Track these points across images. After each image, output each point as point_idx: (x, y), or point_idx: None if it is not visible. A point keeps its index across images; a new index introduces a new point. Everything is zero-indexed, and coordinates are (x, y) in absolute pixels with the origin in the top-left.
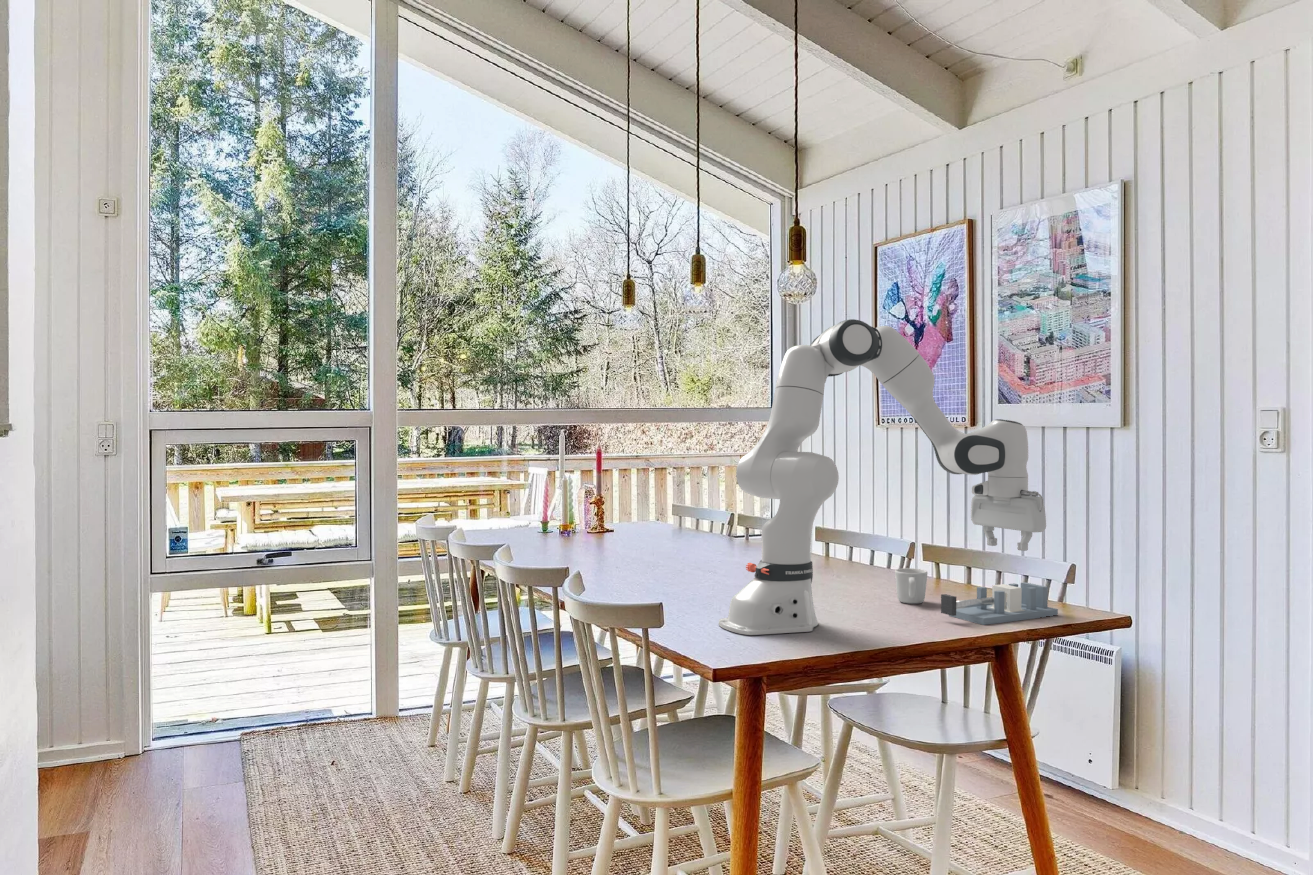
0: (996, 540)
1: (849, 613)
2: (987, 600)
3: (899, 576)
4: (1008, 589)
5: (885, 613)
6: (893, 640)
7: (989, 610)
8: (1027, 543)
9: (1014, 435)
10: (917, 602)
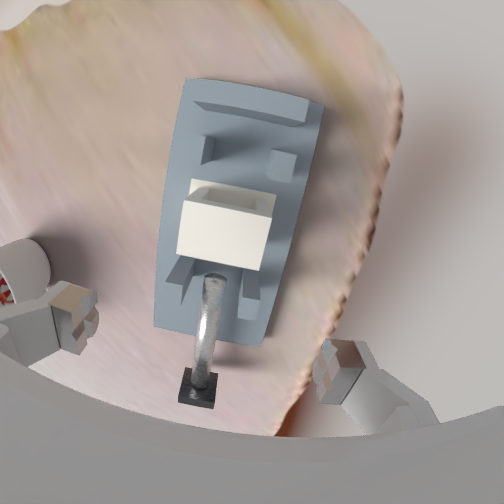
0: (80, 310)
1: (85, 392)
2: (221, 307)
3: None
4: (252, 268)
5: (98, 368)
6: None
7: (213, 270)
8: (376, 369)
9: None
10: (50, 272)
